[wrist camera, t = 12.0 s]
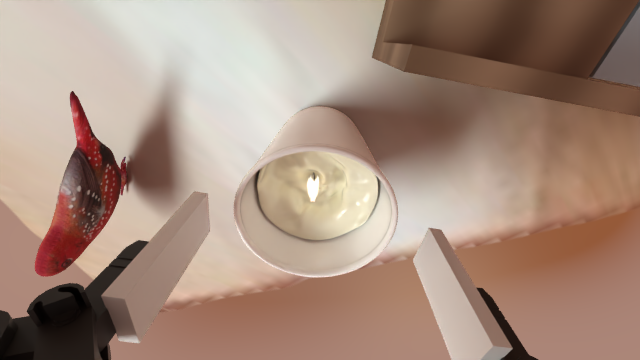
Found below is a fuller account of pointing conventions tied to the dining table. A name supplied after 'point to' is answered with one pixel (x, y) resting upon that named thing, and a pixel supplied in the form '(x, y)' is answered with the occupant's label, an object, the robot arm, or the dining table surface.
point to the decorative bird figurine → (81, 198)
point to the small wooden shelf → (510, 46)
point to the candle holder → (316, 198)
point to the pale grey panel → (622, 54)
